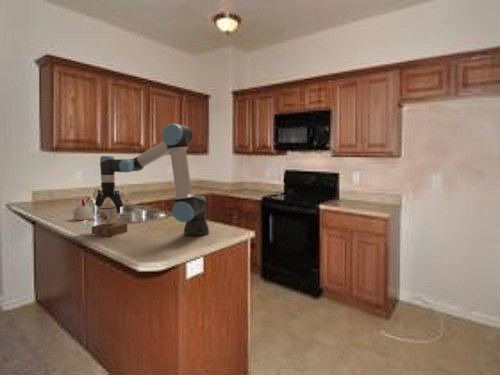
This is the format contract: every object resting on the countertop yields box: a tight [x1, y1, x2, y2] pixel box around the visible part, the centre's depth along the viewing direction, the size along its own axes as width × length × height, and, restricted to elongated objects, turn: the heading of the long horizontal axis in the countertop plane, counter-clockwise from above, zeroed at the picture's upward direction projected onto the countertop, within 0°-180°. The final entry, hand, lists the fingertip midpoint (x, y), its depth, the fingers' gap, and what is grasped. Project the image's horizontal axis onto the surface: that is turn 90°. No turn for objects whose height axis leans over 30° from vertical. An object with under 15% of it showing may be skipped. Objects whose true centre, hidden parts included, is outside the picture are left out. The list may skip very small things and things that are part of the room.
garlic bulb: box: [72, 199, 95, 221], centre depth 239 cm, size 14×14×15 cm
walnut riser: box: [91, 222, 128, 238], centre depth 200 cm, size 14×14×5 cm
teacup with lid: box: [99, 201, 117, 223], centre depth 199 cm, size 12×9×12 cm
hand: (109, 217), depth 199 cm, fingers closed on teacup with lid, 12 cm apart
